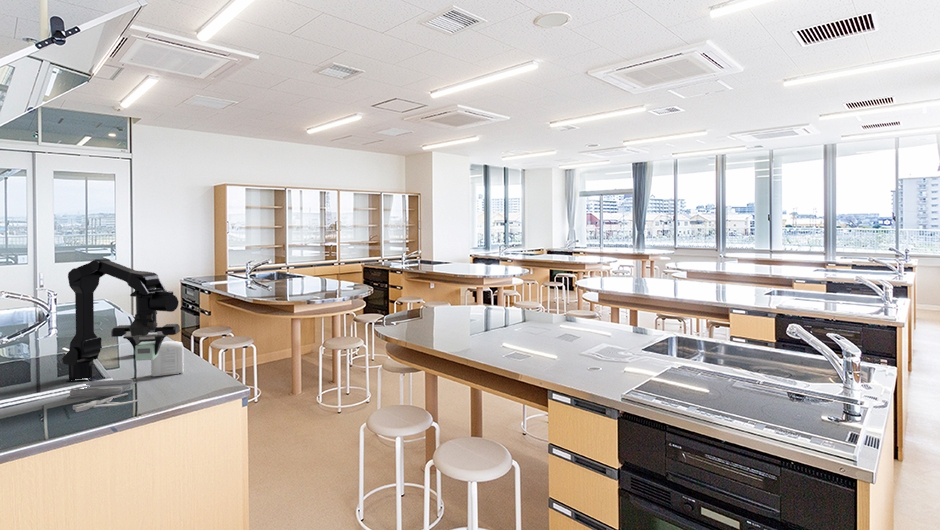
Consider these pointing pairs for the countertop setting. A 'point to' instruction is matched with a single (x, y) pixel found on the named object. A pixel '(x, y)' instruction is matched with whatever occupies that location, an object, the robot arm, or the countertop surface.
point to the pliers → (95, 403)
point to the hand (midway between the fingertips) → (147, 354)
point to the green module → (145, 351)
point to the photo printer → (168, 359)
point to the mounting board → (102, 388)
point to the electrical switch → (147, 338)
